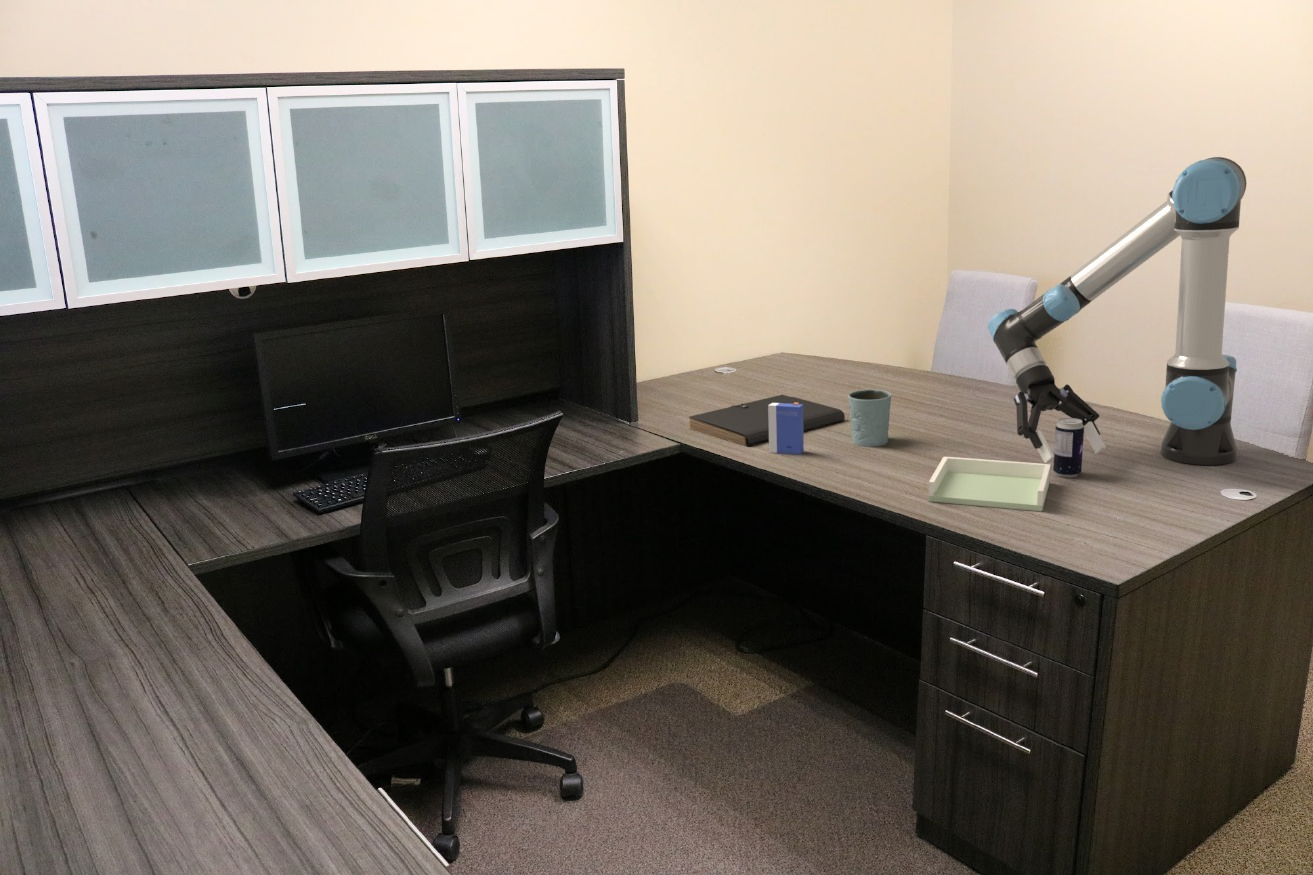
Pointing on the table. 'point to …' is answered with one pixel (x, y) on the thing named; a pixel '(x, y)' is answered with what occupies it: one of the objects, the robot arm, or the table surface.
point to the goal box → (990, 483)
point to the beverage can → (1068, 447)
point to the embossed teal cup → (869, 417)
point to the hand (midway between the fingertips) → (1075, 455)
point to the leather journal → (759, 419)
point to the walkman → (786, 428)
